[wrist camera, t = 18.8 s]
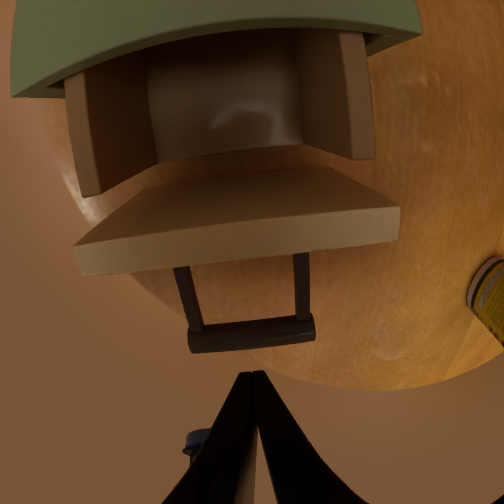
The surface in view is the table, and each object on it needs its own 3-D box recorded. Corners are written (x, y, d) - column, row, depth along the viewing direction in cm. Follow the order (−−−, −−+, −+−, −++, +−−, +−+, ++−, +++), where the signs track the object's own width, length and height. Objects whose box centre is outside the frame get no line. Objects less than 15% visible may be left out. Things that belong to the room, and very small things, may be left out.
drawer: (330, 281, 18) (375, 370, 11) (170, 299, 18) (140, 394, 11) (295, -58, 9) (325, -132, 1) (121, -33, 9) (66, -90, 2)
